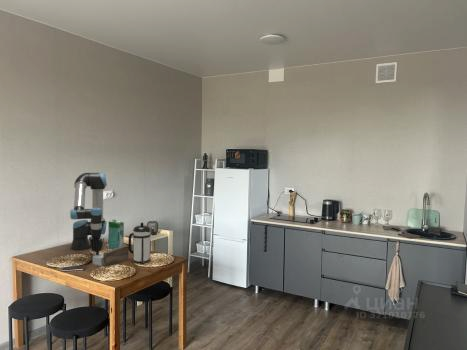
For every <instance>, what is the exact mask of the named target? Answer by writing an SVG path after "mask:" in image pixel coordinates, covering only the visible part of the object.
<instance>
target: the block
mask: <svg viewBox="0 0 467 350" xmlns="http://www.w3.org/2000/svg"><path fill="white" fill-rule="evenodd" d="M92 265H95V266H99V267H102V266H103V253H99V255H96V256H94V255H93V256H92Z"/></svg>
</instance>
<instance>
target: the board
mask: <svg viewBox="0 0 467 350" xmlns="http://www.w3.org/2000/svg"><path fill="white" fill-rule="evenodd" d="M127 260H129V245H124V246H121V247H118V248H115V249H112V250H109V251H108V250H107V251H104V252H103V265H102V266H103V267H106V266H109V265H111V266H113V265H116V264H118V263H121V262H123V261H124V262H125V261H127ZM109 267H110V266H109Z"/></svg>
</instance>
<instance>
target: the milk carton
mask: <svg viewBox="0 0 467 350" xmlns="http://www.w3.org/2000/svg"><path fill="white" fill-rule="evenodd" d="M124 224H125V222H123V221H120V220H117V219H112V220H109V221H108V234H107V235H108V236H107V237H108V239H107V240H108V245H107V247H108V248H107V249H115V248H118V247H121V246H125V242H124V239H125V236H124V235H125V234H124V232H125V231H124V229H125V228H124V227H125V225H124Z"/></svg>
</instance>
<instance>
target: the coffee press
mask: <svg viewBox="0 0 467 350" xmlns="http://www.w3.org/2000/svg"><path fill="white" fill-rule="evenodd" d="M132 231H133V232H131V233H130V234H129V236H128V252H129V253H131V254H132V256H133V258H132V259H131V263H132V264H133V263H134V262H140V263H141V262H142V263H143V264H144V262H147V261H149V260H151V259H152V257H151V228H150V226H148V225H146V224H145V225H144V222H141V223H140V225H136V226H135V227H133V229H132ZM132 241H133V244H132Z"/></svg>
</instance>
